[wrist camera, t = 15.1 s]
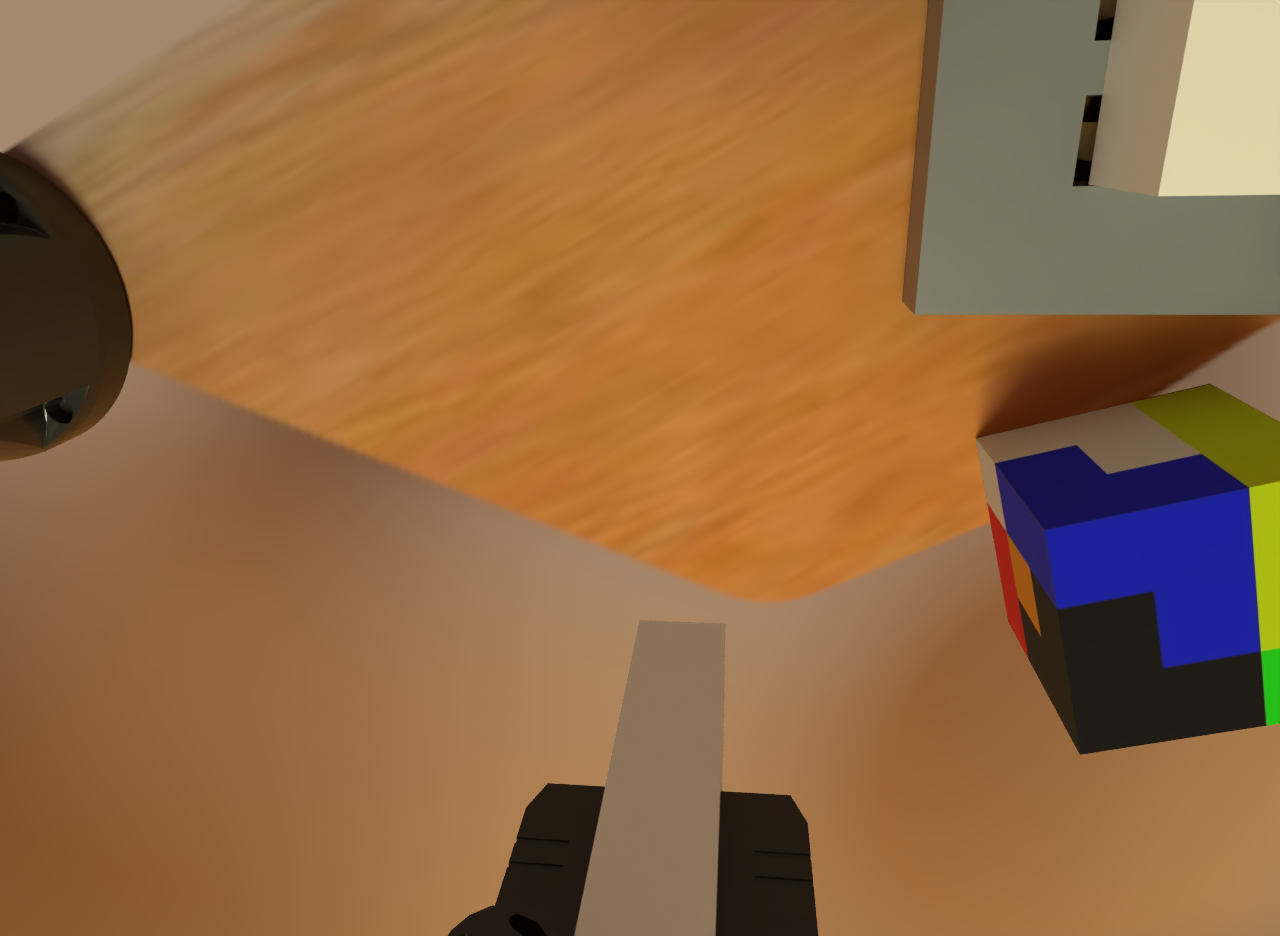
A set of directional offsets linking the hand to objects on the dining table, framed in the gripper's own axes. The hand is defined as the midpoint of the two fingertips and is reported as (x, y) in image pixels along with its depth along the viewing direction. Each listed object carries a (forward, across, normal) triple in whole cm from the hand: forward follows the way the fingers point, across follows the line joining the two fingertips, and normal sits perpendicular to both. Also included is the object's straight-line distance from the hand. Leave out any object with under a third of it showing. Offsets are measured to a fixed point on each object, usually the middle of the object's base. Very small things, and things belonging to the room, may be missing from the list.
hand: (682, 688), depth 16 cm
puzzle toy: (+27, +18, -8) cm, 33 cm away
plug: (+26, +17, +11) cm, 33 cm away
